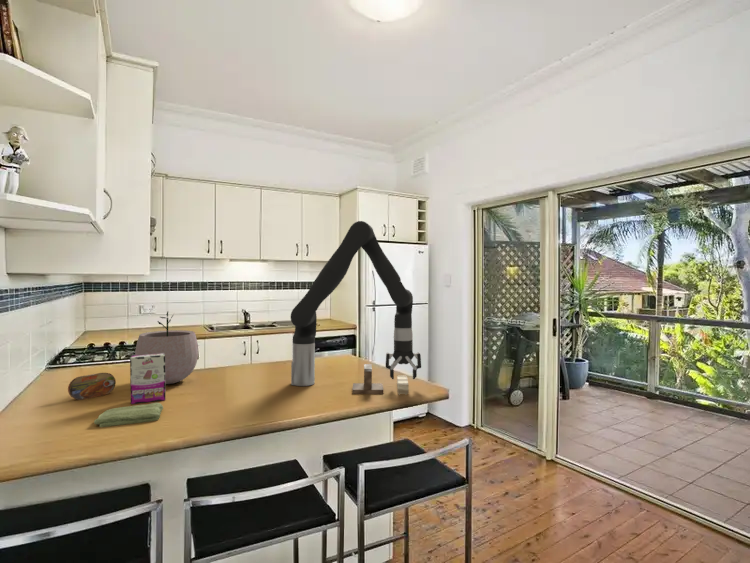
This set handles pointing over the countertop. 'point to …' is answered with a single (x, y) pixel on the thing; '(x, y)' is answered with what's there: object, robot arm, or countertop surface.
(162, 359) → the candy bar box
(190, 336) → the plant pot
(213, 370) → the countertop surface
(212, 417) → the countertop surface
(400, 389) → the pale gold metallic bar
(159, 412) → the washcloth
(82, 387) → the tin
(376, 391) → the balance stand
